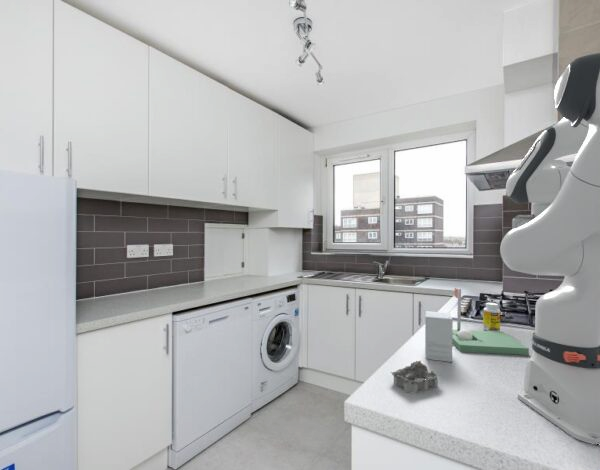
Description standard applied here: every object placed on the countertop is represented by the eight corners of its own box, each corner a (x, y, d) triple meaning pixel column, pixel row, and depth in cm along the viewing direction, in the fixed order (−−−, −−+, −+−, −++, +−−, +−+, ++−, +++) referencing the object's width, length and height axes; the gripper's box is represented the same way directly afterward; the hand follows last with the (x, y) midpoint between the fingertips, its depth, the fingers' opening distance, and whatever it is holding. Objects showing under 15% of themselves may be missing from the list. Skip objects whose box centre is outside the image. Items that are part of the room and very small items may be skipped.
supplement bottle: (490, 333, 117) (490, 305, 117) (479, 328, 123) (480, 302, 123) (503, 332, 118) (504, 305, 118) (492, 327, 124) (493, 301, 123)
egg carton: (420, 374, 83) (421, 359, 83) (443, 388, 77) (444, 371, 77) (388, 381, 79) (388, 365, 79) (409, 396, 72) (409, 378, 72)
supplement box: (450, 353, 97) (451, 312, 97) (452, 363, 90) (453, 319, 90) (424, 350, 100) (425, 310, 100) (424, 358, 93) (425, 316, 93)
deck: (528, 354, 97) (529, 299, 96) (459, 351, 99) (460, 297, 99) (497, 334, 116) (498, 288, 116) (440, 331, 118) (441, 286, 118)
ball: (462, 346, 105) (476, 343, 104) (458, 334, 105) (472, 330, 104) (457, 341, 109) (470, 338, 109) (453, 329, 109) (466, 325, 109)
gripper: (518, 214, 95) (517, 260, 96) (593, 214, 93) (592, 261, 93) (507, 215, 102) (506, 258, 102) (577, 215, 99) (576, 259, 99)
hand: (547, 259), depth 98 cm, fingers closed
